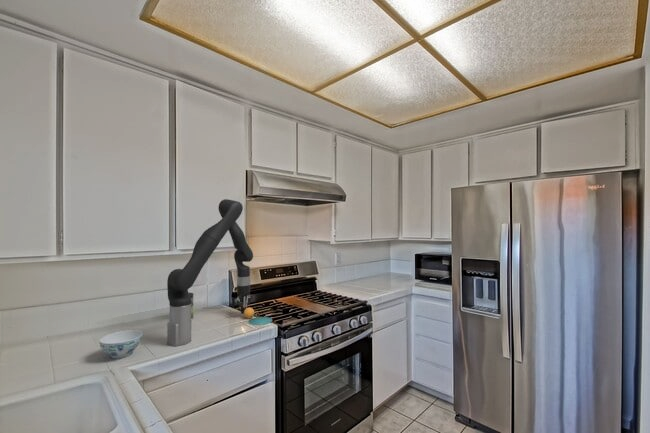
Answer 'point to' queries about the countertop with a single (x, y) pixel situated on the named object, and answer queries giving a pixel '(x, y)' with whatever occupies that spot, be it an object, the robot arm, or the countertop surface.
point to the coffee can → (191, 304)
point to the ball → (248, 312)
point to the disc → (260, 320)
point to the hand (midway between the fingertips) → (243, 313)
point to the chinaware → (120, 343)
